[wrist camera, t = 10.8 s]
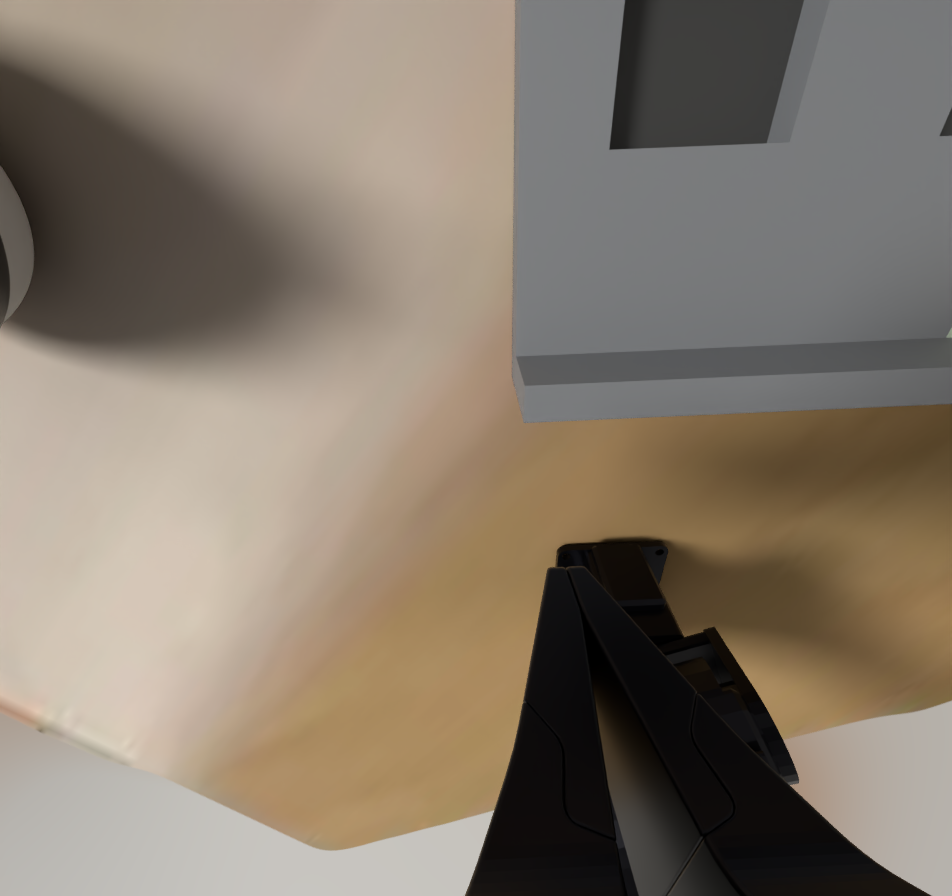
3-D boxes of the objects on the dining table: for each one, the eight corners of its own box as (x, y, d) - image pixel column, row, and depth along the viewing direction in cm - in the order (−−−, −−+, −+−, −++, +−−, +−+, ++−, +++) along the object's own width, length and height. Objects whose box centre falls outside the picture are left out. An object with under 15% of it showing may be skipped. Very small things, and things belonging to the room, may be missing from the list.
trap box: (1068, 351, 20) (1209, 392, 16) (512, 376, 20) (523, 422, 16) (1471, -216, 12) (1951, -402, 8) (517, -180, 12) (543, -354, 8)
